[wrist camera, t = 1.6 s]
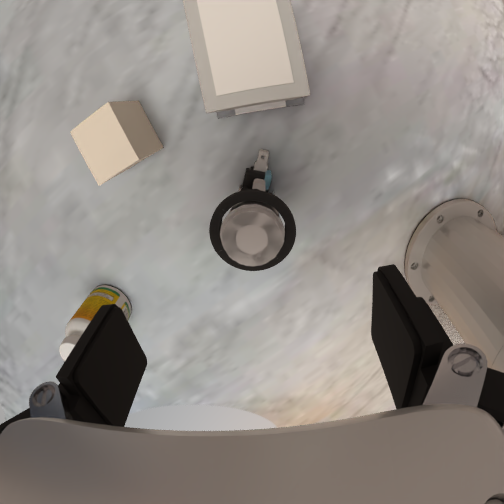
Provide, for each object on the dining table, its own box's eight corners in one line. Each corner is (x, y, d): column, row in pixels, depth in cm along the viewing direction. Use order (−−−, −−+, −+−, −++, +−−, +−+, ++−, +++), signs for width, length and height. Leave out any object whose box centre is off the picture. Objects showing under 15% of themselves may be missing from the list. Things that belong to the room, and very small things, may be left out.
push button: (234, 143, 25) (217, 164, 16) (295, 156, 26) (313, 184, 17) (221, 215, 28) (201, 269, 19) (278, 226, 29) (285, 285, 20)
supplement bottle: (141, 311, 34) (111, 371, 25) (112, 326, 35) (82, 382, 27) (110, 275, 32) (70, 331, 23) (84, 294, 33) (45, 346, 25)
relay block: (138, 100, 24) (108, 101, 18) (163, 147, 26) (139, 159, 20) (104, 124, 25) (70, 132, 19) (128, 168, 27) (98, 185, 21)
